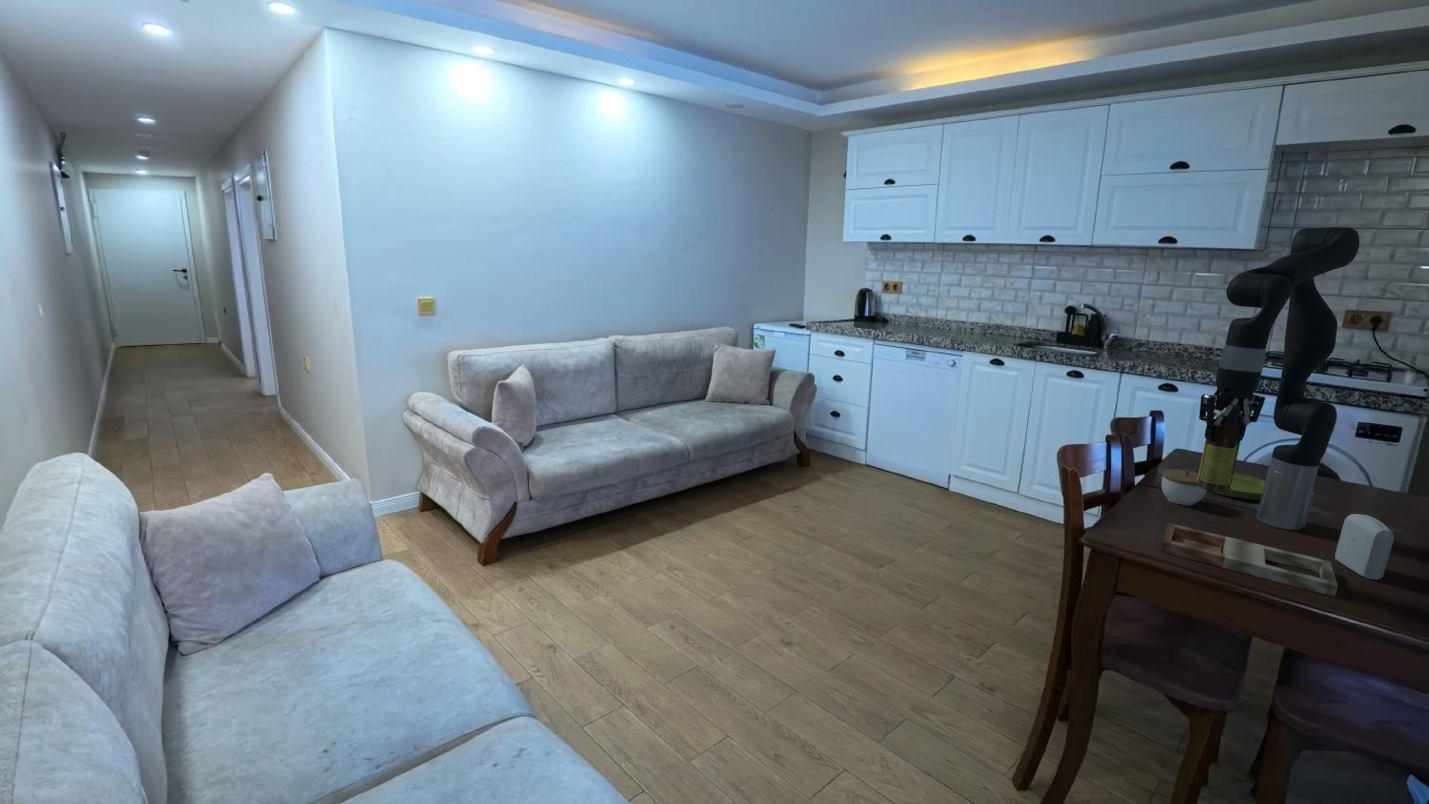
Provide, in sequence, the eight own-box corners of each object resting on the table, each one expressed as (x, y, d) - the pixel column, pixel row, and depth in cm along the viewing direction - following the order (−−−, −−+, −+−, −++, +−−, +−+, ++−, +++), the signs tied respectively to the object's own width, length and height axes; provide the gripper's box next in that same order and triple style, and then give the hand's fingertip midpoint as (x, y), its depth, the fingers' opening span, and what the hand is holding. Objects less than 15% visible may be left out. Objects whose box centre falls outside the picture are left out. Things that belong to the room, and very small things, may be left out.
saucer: (1295, 505, 184) (1298, 494, 183) (1222, 502, 184) (1224, 492, 183) (1238, 479, 204) (1241, 469, 203) (1172, 476, 204) (1174, 467, 203)
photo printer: (1329, 557, 152) (1344, 508, 149) (1351, 559, 151) (1366, 510, 148) (1362, 579, 142) (1378, 526, 139) (1385, 581, 141) (1402, 529, 138)
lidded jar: (1188, 511, 176) (1195, 478, 174) (1148, 496, 186) (1155, 465, 183) (1212, 506, 180) (1220, 474, 178) (1173, 492, 190) (1179, 461, 188)
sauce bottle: (1235, 494, 146) (1256, 409, 141) (1204, 491, 147) (1224, 406, 142) (1219, 484, 152) (1239, 402, 147) (1189, 481, 153) (1208, 399, 148)
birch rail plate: (1327, 571, 145) (1330, 561, 144) (1334, 596, 134) (1337, 586, 134) (1165, 531, 163) (1167, 522, 162) (1160, 551, 152) (1163, 541, 151)
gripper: (1253, 363, 147) (1236, 435, 151) (1196, 363, 145) (1180, 435, 149) (1285, 370, 140) (1266, 445, 144) (1226, 370, 138) (1208, 445, 142)
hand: (1223, 439), depth 147 cm, fingers closed on sauce bottle, 6 cm apart
